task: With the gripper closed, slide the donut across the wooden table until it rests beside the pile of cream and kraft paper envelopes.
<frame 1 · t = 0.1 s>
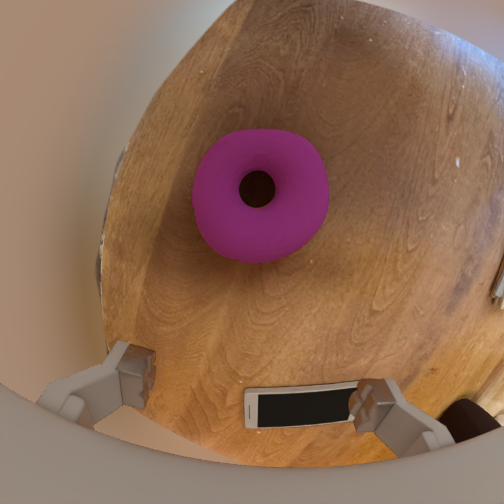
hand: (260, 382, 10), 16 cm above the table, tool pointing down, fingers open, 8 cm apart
cup: (459, 409, 35), on the table
donut: (259, 192, 24), on the table
smartphone: (307, 403, 31), on the table
ornament: (493, 419, 38), on the table
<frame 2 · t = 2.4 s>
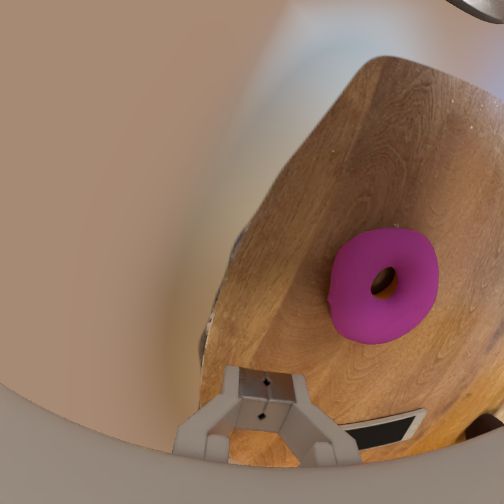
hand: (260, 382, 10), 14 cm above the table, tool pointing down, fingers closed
cup: (481, 421, 35), on the table
donut: (375, 276, 24), on the table
smartphone: (373, 431, 32), on the table
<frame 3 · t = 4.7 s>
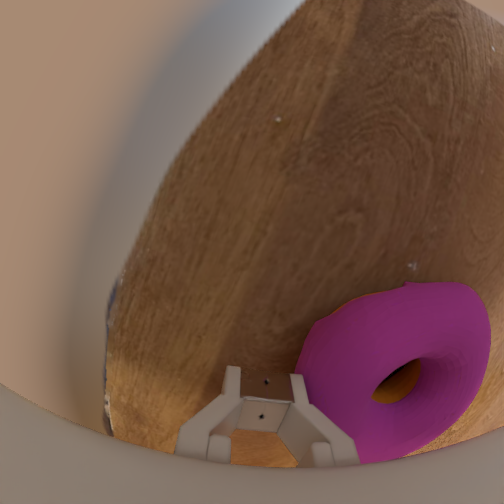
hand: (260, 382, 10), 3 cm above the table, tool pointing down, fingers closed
donut: (380, 355, 13), on the table, touching gripper
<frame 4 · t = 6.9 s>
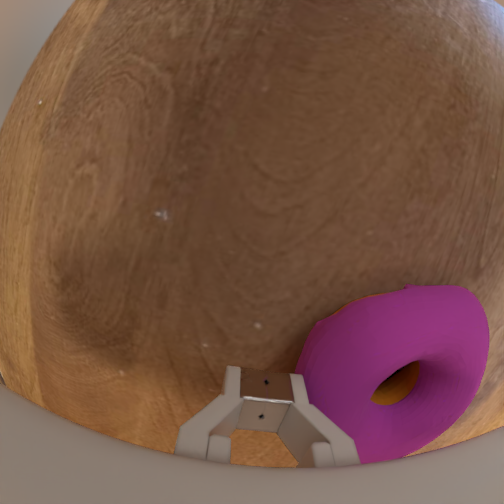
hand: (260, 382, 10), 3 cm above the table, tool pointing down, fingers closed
donut: (379, 356, 13), on the table, touching gripper
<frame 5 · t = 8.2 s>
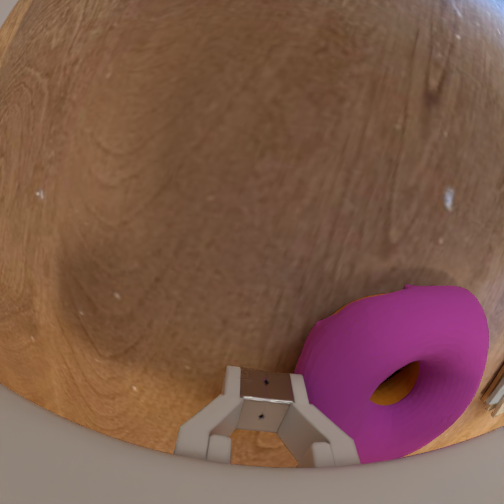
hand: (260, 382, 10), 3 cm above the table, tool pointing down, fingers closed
donut: (378, 357, 13), on the table, touching gripper
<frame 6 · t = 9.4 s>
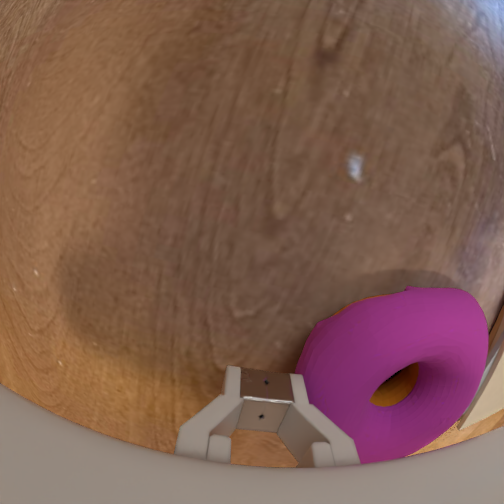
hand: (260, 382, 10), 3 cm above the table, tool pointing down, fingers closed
donut: (378, 358, 13), on the table, touching gripper
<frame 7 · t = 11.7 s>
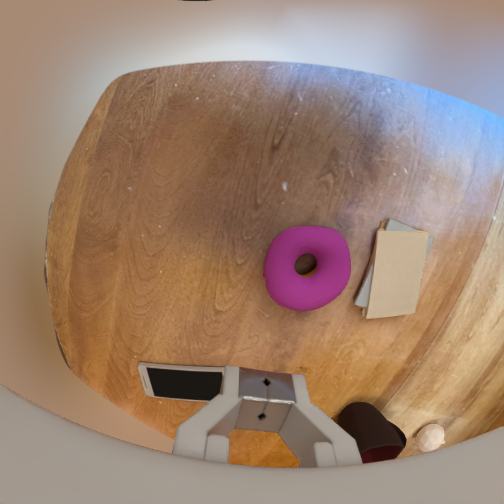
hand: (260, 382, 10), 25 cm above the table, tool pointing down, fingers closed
cup: (362, 412, 44), on the table
donut: (304, 262, 35), on the table
letter pile: (392, 269, 36), on the table
smartphone: (188, 381, 41), on the table
ornament: (424, 427, 48), on the table
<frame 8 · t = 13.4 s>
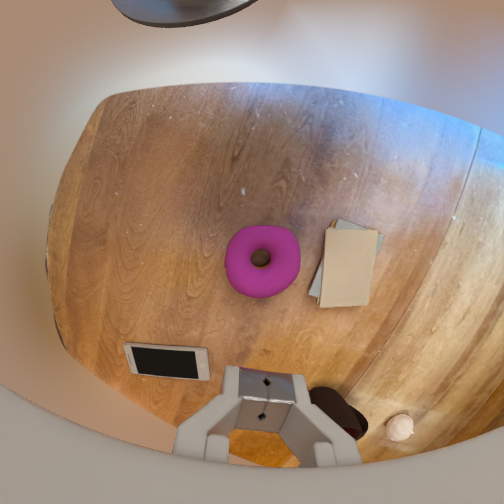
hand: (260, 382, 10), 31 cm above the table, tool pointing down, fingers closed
cup: (328, 396, 51), on the table
donut: (261, 256, 42), on the table
letter pile: (345, 264, 42), on the table
smartphone: (167, 360, 47), on the table
ornament: (394, 417, 55), on the table
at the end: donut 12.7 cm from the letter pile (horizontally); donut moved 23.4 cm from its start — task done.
